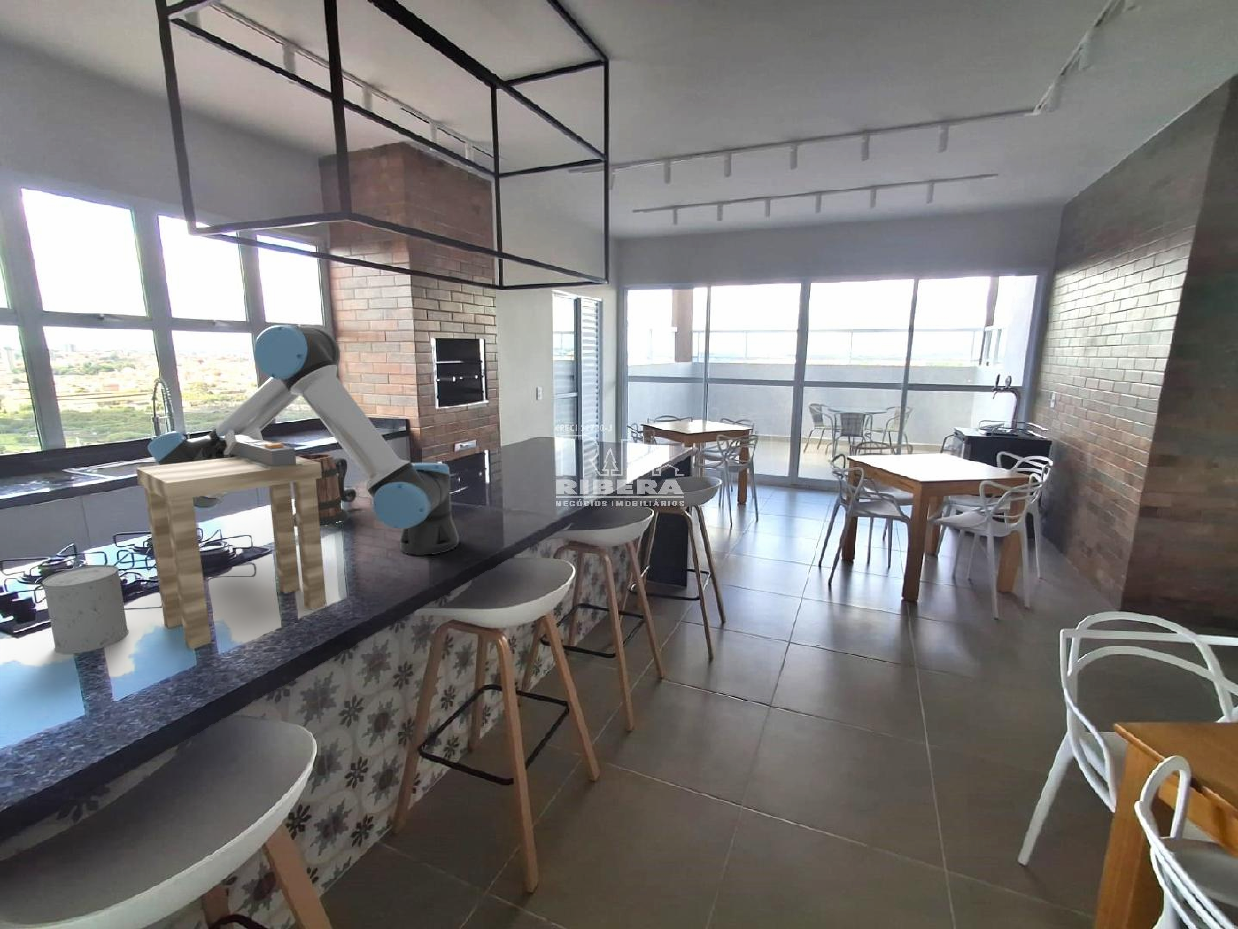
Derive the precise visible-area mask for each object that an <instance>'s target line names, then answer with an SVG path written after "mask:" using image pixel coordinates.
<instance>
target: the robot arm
mask: <svg viewBox="0 0 1238 929" xmlns="http://www.w3.org/2000/svg"><path fill="white" fill-rule="evenodd" d="M253 357H254V360H255V364H256V365H257V367H258V368H259V370H260V371H261V372H262V373H263V374H265V375H266V376H268V377H270V378H268V379H267V380H266V381H265V382H264V383H263V384H262V385H261V386H260V387H258V388H257V389H256V390H255V391H254V392H253V393H252V394H251V395H249V397H248V398H246V400H244V401H243V402H242V403H241V404H240V405H239V406H237V408H235V409H234V410H233V411H232V412H231V413H230V414H229V415H227V417H226V418H225V419H224V420H223V421H221V422H220V423H219V424H217V426H216V427H215V428H214V429H212V431H210V432H209V433H208V434H207V435H205V436H199V437H194V438H189V439H187V437H186V436H184V435H183V434H182V432H179V431H176V430H173V431H169V432H166V433H163V434H161V435H159V436H158V437H155V438H154V439H152V441H150V442H149V444H148V445H147V450H148V452H149V453H150V455H151V456H152V458H153V459H154V460H155V462H156V463H157V464H159V465H167V464H177V463H186V462H195V461H204V460H213V459H222V458H231V457H235V456H237V455H234V454H231V453H230V451H231V450H232V449H233V447H234V446H235V444H236V443H237V441H236V437H235V435H244V436H248V437H252V438H256V439H260V440H264V439H263V435H262V433H261V431H263V429H264V428H266V427H267V426H268V425H269V424H270V423H271V422H272V421H274V420H275V418H276V417H278V416H279V415H280V414H281V413H282V412H284V410H286V409H287V407H289V406H290V405H291V404H292V403H294V401H296V400H297V399H298V398H299V397H300V396H301V397H302V398H303V399H304V400H305V402H306V403H307V404H308V406H309V407H310V408H311V409H312V411H313V412H314V413H315V414H316V415H317V417H318V419H320V421H321V422H322V423H323V425H324V426H325V428H326V429H327V430H328V431H329V432H330V434H331V435H332V436H333V437H334V438H335V440H336V441H337V442H338V444H339V445H340V446H341V448H342V449H343V450H344V451H345V453H346V455H348V456H349V458H350V459H351V460H352V462H353V463H354V464H355V467H357V468H358V470H359V471H360V472H361V473H362V474H363V476H364V477H365V478H366V480H367V485H366V490H367V492H368V493H369V494H370V496H371V497H372V498H373V499H372V509H373V512H374V514H375V517H376V518H377V519H378V520H379V521H380V522H381V523H382V524H383V525H385V526H387V527H389V528H392V529H397V530H402V532H401V537H400V539H399V548H400V549H401V550H400V551H401V552H402V551H403V552H402V553H404V552H407V553H409V554H408V555H411V554H416V555H415V556H424V555H423V554H432V553H437V552H443V551H446V550H449V549H451V548H453V547H454V546H457V545H458V543H459V544H460V539H459V538H460V537H459V534H458V531H457V527H456V526H455V523H454V521H453V517H452V502H451V501H452V499H451V498H452V497H451V474H450V467H449V466H448V464H447V463H442V462H411V461H410V460H406V459H405V460H404V459H400V458H399V456H398V455H397V454H396V453H395V452H394V450H393V449H392V447H391V446H390V445H389V444H388V442H387V440H385V438H384V437H383V436H382V435H381V433H380V432H379V431H378V429H377V428H376V426H374V424H373V422H372V421H371V420H370V419H369V418H368V416H367V415H366V413H365V412H364V410H363V409H361V407H360V406H359V404H358V403H357V402H356V400H355V399H354V398H353V396H352V395H351V394H350V393H349V391H348V390H347V389H346V387H345V386H344V385H343V384H342V382H341V381H340V379H339V378H338V377H337V373H338V366H339V364H340V361H341V350H340V348H339V344H338V343H337V341H336V340H335V338H333V336H331V334H329V333H328V332H326V331H325V330H321V329H320V328H315V327H303V326H302V327H301V326H294V325H290V324H281V325H273V326H270V327H268V328H266V329H264V330H263V331H262V332H260V334H259V335H258V337H257V338H256V340H255V342H254V350H253ZM221 436H225V437H224V439H223V440H220V437H221ZM228 493H229V492H226V493H219V494H213V495H206V496H200V497H193V504H194V512H208V511H211V510H213V509H215V508H216V507H217V506H218V505H219V504H221V503H222V502H223V501H224V499H225V497H226V496H227V494H228ZM458 546H459V545H458ZM417 554H418V555H417Z"/></svg>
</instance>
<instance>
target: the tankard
mask: <svg viewBox="0 0 1238 929" xmlns="http://www.w3.org/2000/svg"><path fill="white" fill-rule="evenodd" d="M296 456H297V457H301V458H305V459H308V460H312V461H316V462H319V463H321V475H322V478H317V479H316V488H317V500H318V512H319V524H320V527H325V525H327V526H331V525H330V524H332V525H335V524H334V523H336V522H339V521H343V522H345V521H347V520H348V519H349V518H350V517H349V516H350V514H349V513H347V511H346V510H345V509H343V508H342V507H343V506H342V502H344V503H353V502H354V501H355V500H356V497H357V492H356V490H355V489H353V488H347V489H345V477H346V475H347V471H348V470H347V469H348V462H347V460H346V459H345V458H340V457H337V458H334V456H333V455H332V454H329V453H327V454H325V453H321V454H319V453H318V454H302V455H301V454H300V455H296ZM293 503H294V504H293V505H294V508H295V500H294V502H293ZM348 517H349V518H348ZM347 518H348V519H347ZM293 519H294V527H295V528H297V520H296V512H295V513H293ZM346 519H347V520H346Z"/></svg>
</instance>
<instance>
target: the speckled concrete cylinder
mask: <svg viewBox="0 0 1238 929" xmlns="http://www.w3.org/2000/svg"><path fill="white" fill-rule="evenodd" d="M41 583H42V586H43V589H44V595H45V601H46V605H47V606H46V607H47V610H48V617H49V622H50V626H51V632H52V633H51V634H52V638H53V643H54V651H55V652H56V653H58V654H64V655H71V654H74V655H75V654H80V653H81V654H82V653H87V652H92V651H95V650H99V649H103V648H106V647H108V646H111V645H113V644H115V643H118V642H119V641H121V640H123V639H124V638H125V637H127V635H128V634H129V629H128V624H127V618H126V612H125V604H124V599H123V592H122V587H121V580H120V573H119V567H118V566H116V565H114V564H113V565H112V564H95V565H87V566H81V567H80V566H79V567H76V568H71V569H66V570H64V571H60V572H57V573H55V574H51V575H50V576H47V577H45V578H44V579H43V580H42V582H41Z"/></svg>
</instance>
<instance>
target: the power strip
mask: <svg viewBox="0 0 1238 929" xmlns="http://www.w3.org/2000/svg"><path fill="white" fill-rule="evenodd" d="M224 437H225V436H221V437H220V440H223V439H224ZM235 437H236V441H237V443H236V444H235V446H234V447H233V449H232V450H231V451H230V453H231V454H234V455H237V456H240V457H243V458H246V459H250V460H253V461H256V462H259V463H262V464H265V465H269V466H272V467H277V466H285V465H292V464H296V456H297V455H296V448H294V447H290V446H286V445H284V444H283V443H281V442H271V441H267V440H264V439H263V440H260V439H256V438H252V437H248V436H244V435H235Z"/></svg>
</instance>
